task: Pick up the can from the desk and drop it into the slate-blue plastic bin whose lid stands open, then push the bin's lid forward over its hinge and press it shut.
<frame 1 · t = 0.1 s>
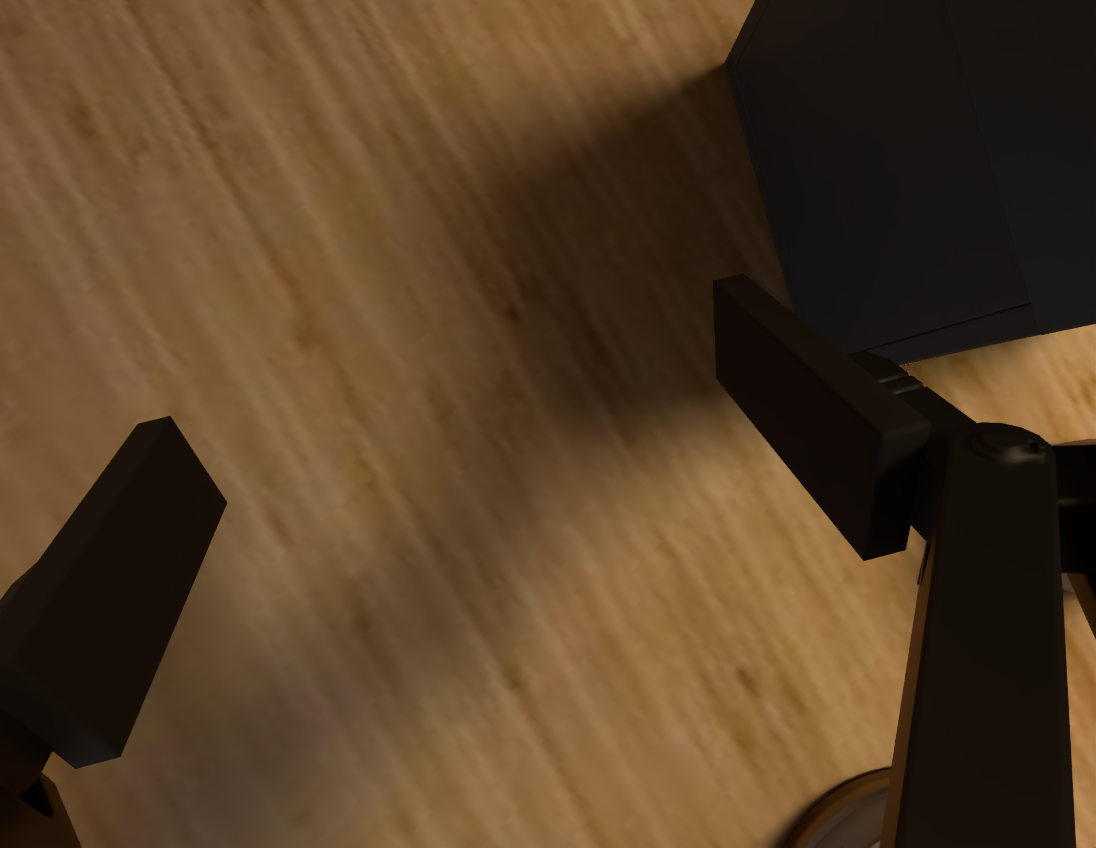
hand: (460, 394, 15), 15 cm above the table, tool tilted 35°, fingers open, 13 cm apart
bin: (899, 187, 31), on the table
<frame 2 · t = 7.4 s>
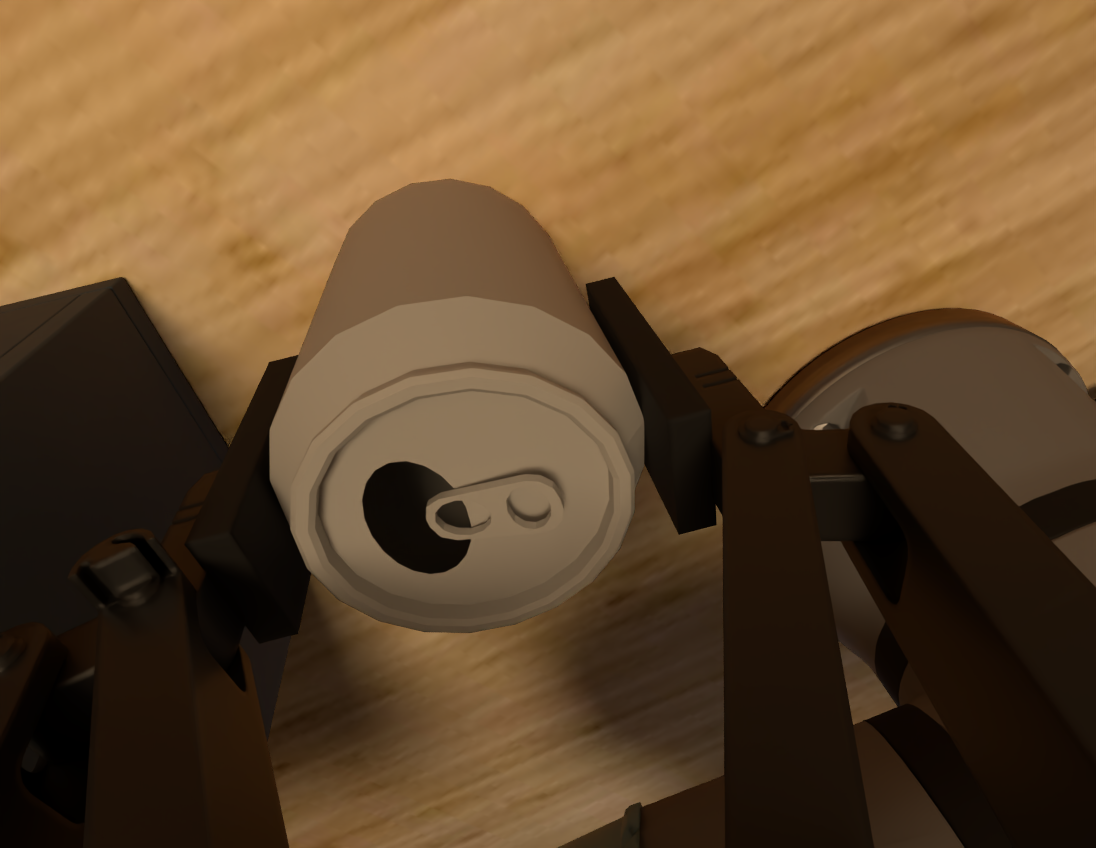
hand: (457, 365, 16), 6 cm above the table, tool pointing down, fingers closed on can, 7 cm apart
bin: (6, 506, 23), on the table
can: (451, 287, 21), on the table, touching gripper
when the fingers open (9 cm above the table, at t = 16.2 s): can stays where it is, resting on bin.
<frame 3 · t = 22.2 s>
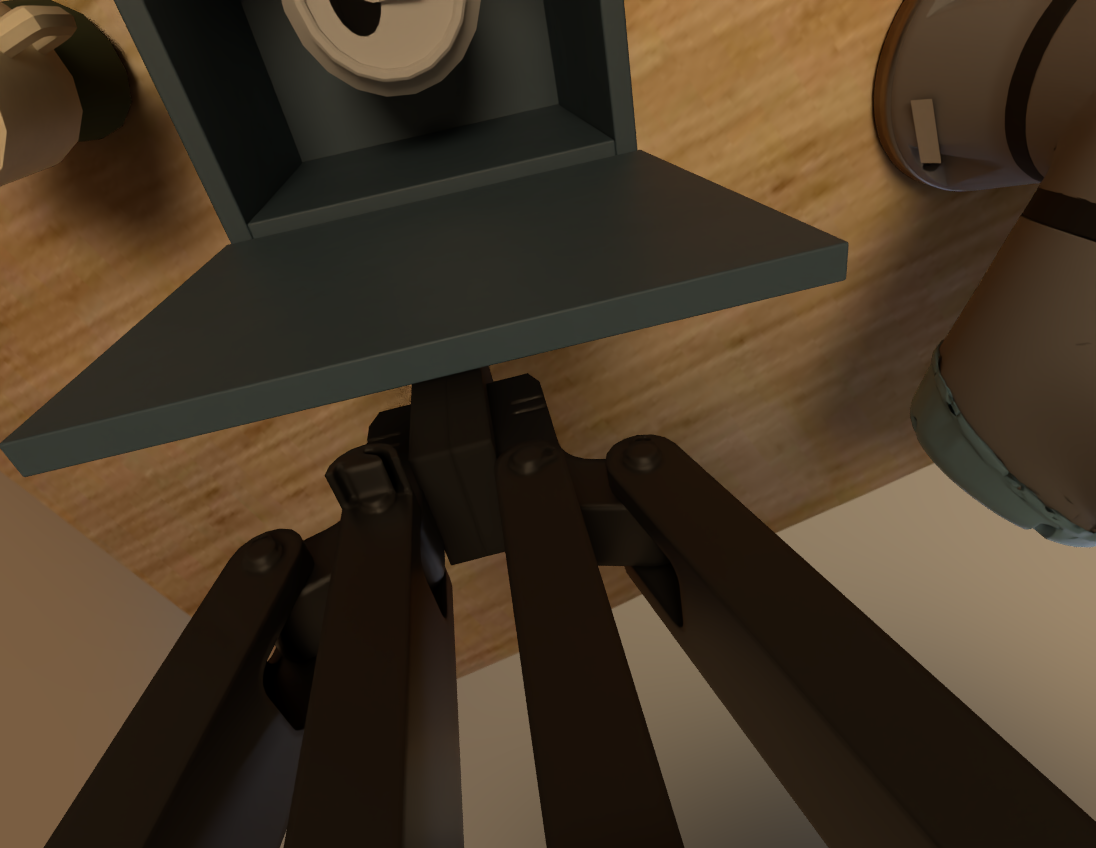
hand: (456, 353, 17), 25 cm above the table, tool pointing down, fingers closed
bin: (399, 8, 32), on the table
character mug: (69, 71, 32), on the table
bin lid: (438, 257, 18), point 22 cm above the table, hinge at 87.4°, touching gripper
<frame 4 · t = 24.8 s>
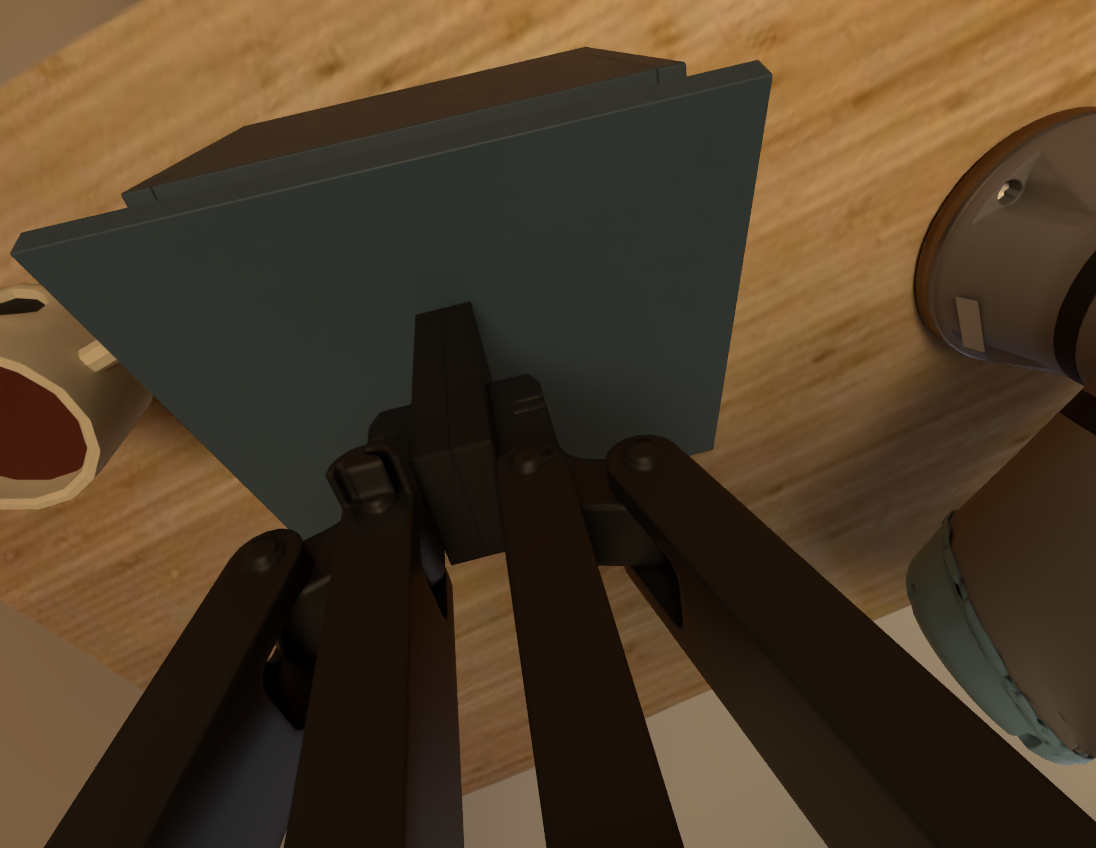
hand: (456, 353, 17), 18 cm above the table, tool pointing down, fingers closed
bin: (455, 228, 33), on the table
character mug: (134, 297, 33), on the table
bin lid: (471, 374, 19), point 17 cm above the table, hinge at 18.6°, touching gripper
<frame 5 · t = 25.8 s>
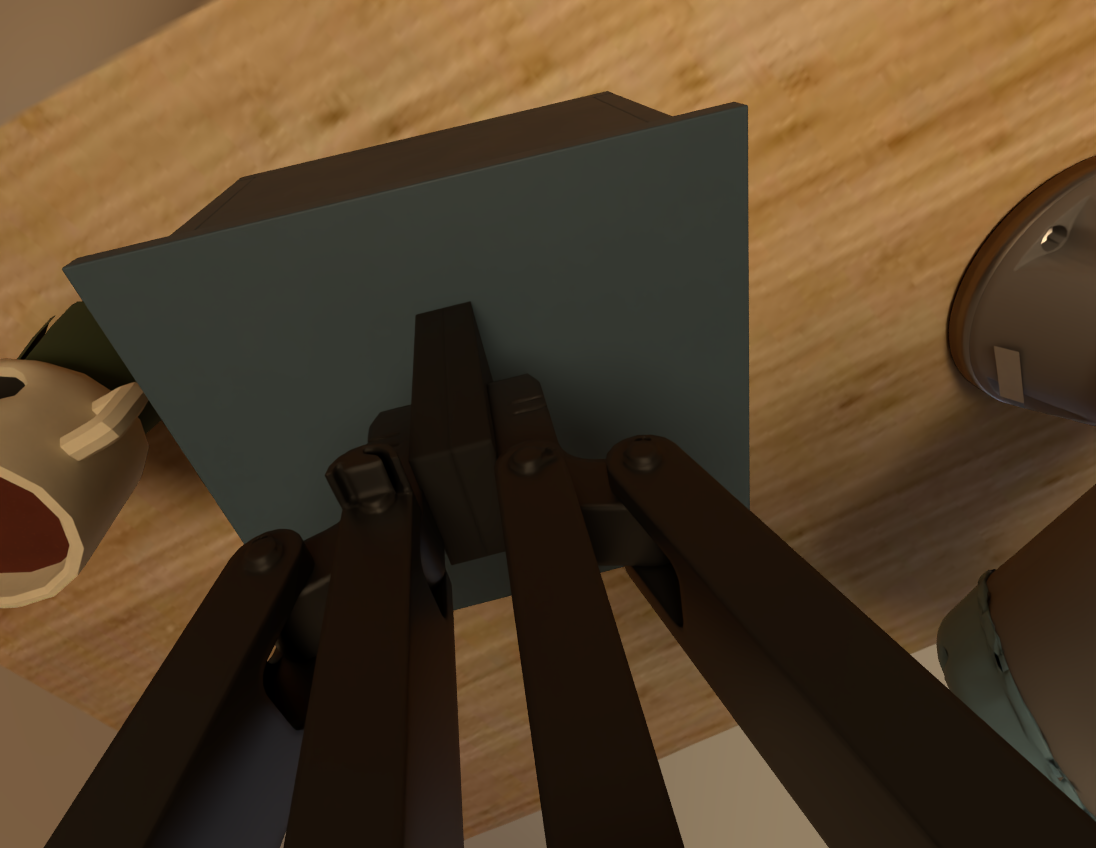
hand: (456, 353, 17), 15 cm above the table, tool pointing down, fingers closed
bin: (466, 279, 31), on the table
character mug: (125, 353, 31), on the table
bin lid: (484, 425, 19), point 14 cm above the table, hinge at -0.2°, touching bin, gripper
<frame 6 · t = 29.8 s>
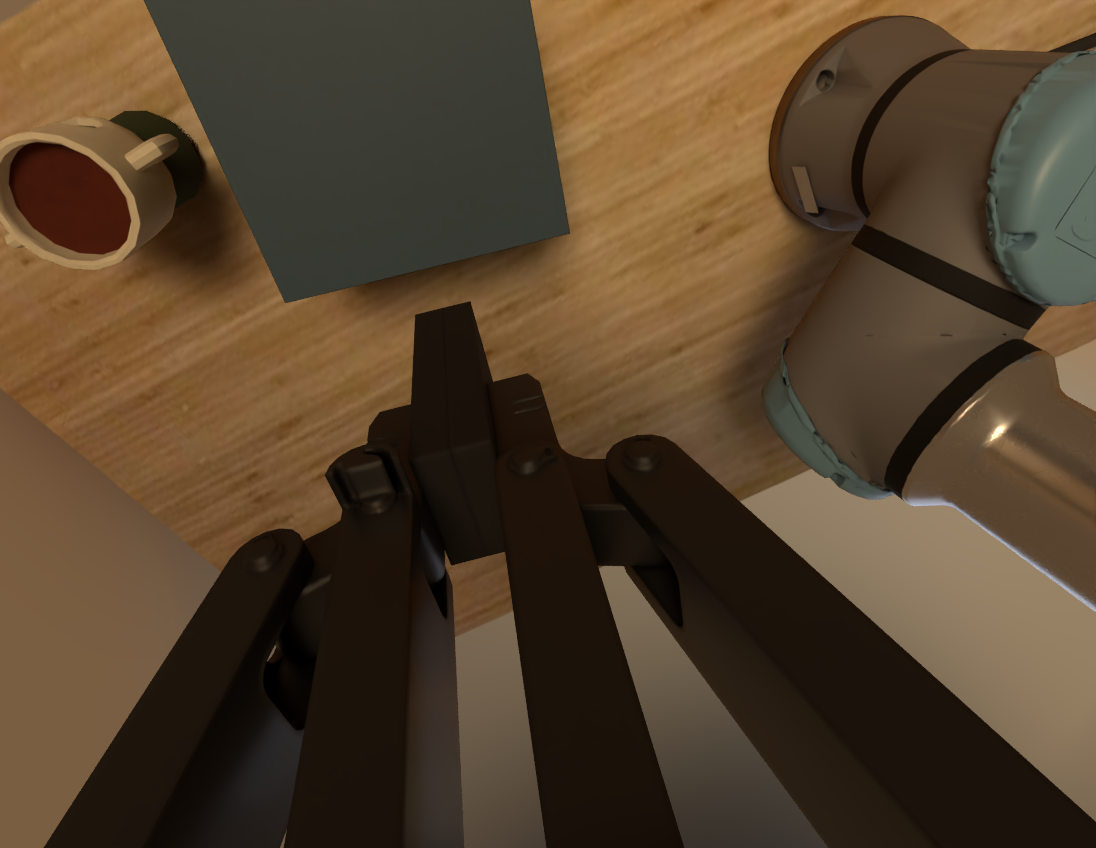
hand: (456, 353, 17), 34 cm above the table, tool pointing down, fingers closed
character mug: (156, 158, 43), on the table
bin lid: (385, 129, 31), point 14 cm above the table, hinge at -0.2°, touching bin
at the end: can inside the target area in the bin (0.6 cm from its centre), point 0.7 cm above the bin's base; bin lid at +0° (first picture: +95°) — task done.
